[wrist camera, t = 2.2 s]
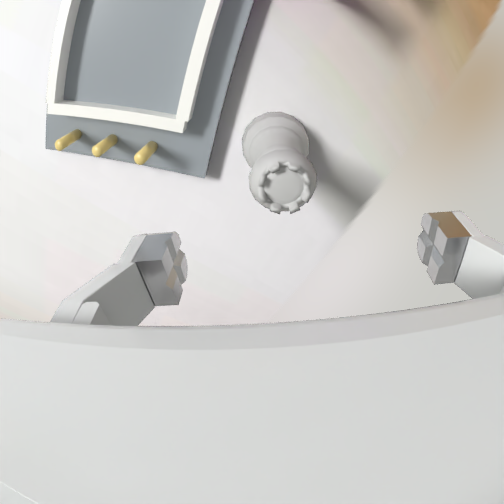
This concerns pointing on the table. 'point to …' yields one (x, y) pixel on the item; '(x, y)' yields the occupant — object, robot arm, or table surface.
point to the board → (142, 79)
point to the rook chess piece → (279, 162)
